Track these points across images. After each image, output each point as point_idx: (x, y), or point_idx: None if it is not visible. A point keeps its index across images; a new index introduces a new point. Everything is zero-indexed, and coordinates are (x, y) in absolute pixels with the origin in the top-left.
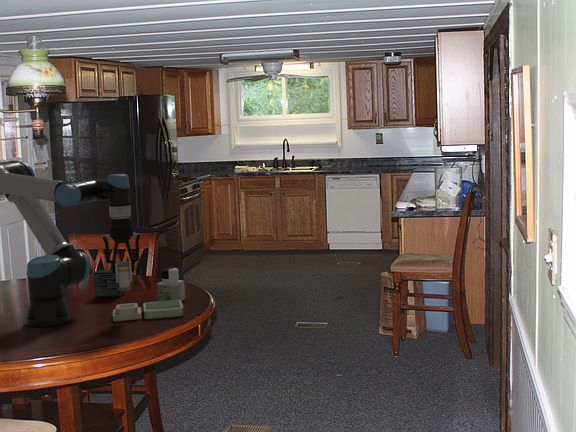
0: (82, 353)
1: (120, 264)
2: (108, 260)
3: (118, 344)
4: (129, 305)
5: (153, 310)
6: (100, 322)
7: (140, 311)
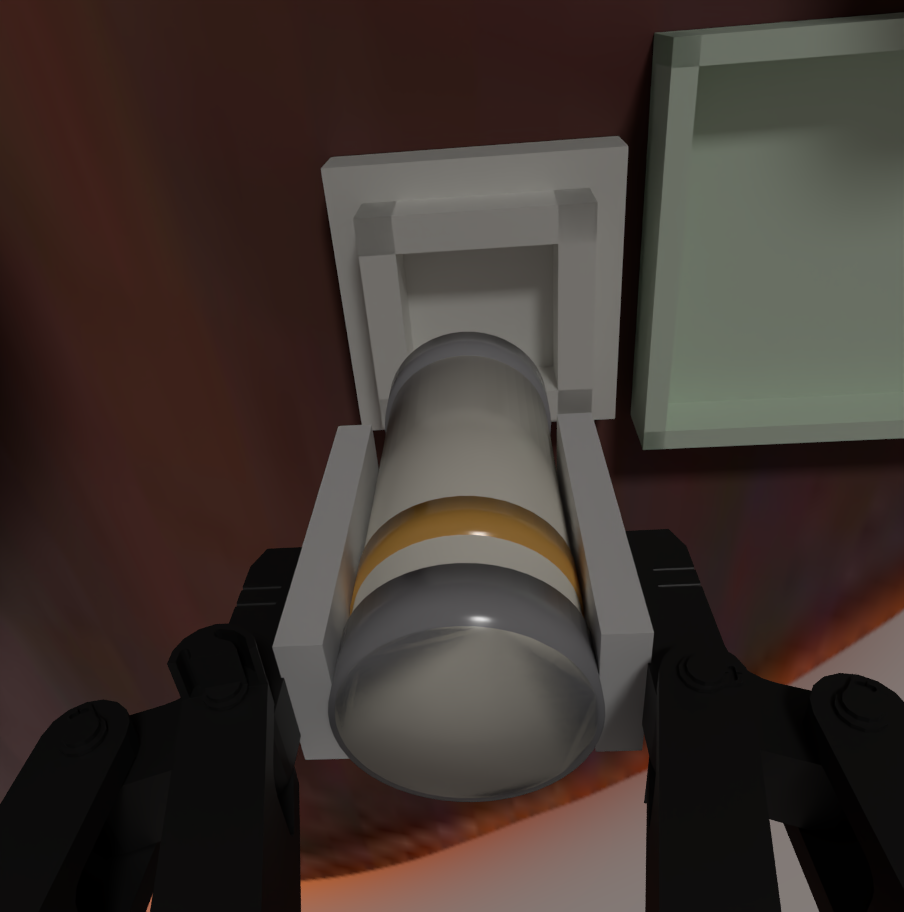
0: (316, 872)
1: (418, 782)
2: (133, 863)
3: (466, 818)
4: (505, 243)
5: (733, 434)
6: (265, 404)
7: (612, 348)
